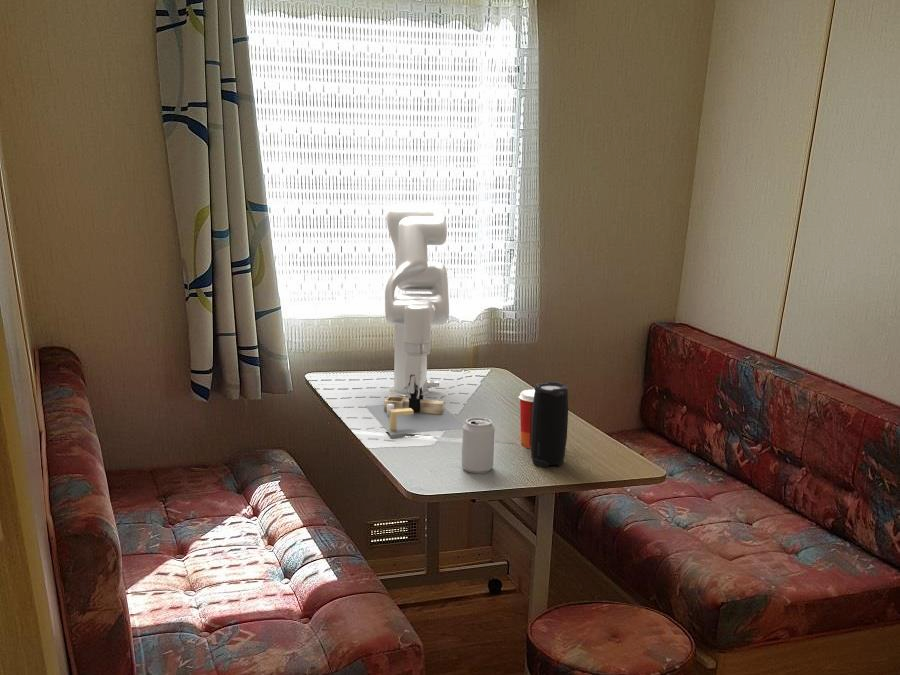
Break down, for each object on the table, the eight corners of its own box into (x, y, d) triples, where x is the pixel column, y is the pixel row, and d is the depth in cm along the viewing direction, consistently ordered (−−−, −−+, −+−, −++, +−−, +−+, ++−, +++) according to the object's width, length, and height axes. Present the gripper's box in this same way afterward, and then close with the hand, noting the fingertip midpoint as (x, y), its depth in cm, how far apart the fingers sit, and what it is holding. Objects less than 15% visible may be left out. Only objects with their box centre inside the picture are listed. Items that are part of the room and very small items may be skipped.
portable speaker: (550, 454, 204) (554, 378, 200) (573, 466, 196) (578, 388, 192) (521, 459, 200) (525, 382, 196) (543, 471, 192) (548, 391, 188)
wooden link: (384, 411, 233) (384, 400, 232) (388, 405, 238) (388, 395, 237) (441, 415, 230) (441, 405, 229) (444, 410, 235) (445, 400, 235)
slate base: (436, 403, 245) (436, 383, 244) (469, 431, 220) (469, 409, 219) (365, 409, 237) (365, 388, 236) (390, 438, 213) (391, 415, 211)
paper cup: (549, 442, 213) (552, 390, 210) (543, 451, 206) (545, 398, 203) (520, 438, 215) (522, 387, 212) (513, 447, 208) (515, 394, 205)
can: (460, 463, 196) (461, 415, 193) (490, 463, 197) (492, 415, 194) (463, 474, 189) (464, 425, 186) (495, 474, 189) (497, 425, 187)
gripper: (410, 340, 238) (409, 400, 242) (397, 353, 223) (396, 417, 227) (435, 342, 237) (433, 402, 241) (424, 355, 221) (422, 419, 225)
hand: (415, 409), depth 234 cm, fingers closed on wooden link, 3 cm apart
